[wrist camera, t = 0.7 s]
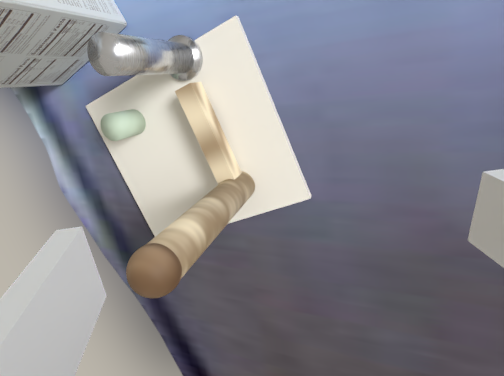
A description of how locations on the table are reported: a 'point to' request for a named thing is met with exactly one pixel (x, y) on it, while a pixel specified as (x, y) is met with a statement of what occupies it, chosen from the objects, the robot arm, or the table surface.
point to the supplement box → (50, 38)
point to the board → (186, 144)
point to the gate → (200, 214)
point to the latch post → (122, 124)
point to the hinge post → (144, 56)
